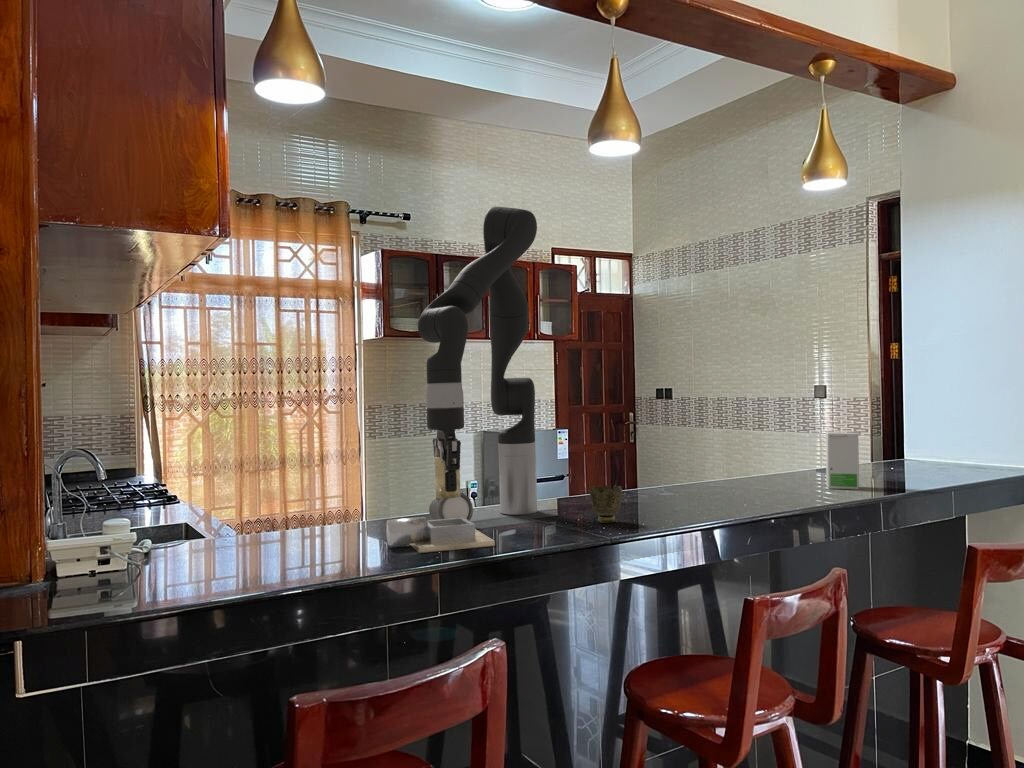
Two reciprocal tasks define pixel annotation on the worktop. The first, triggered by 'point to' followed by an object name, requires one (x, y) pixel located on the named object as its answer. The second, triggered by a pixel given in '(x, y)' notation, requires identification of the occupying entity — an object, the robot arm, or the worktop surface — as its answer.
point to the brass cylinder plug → (441, 481)
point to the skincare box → (842, 460)
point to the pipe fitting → (451, 508)
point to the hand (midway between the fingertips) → (447, 489)
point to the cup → (606, 502)
